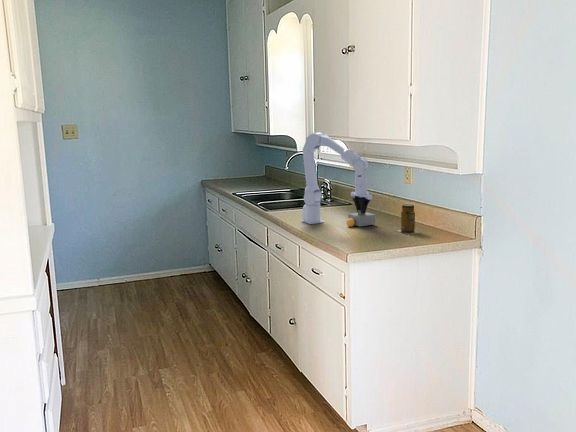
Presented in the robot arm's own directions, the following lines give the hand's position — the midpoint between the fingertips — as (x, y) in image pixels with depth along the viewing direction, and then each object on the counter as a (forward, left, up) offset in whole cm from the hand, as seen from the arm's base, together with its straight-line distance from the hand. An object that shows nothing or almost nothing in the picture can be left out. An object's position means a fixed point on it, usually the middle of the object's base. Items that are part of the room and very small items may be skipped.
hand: (361, 212), depth 270 cm
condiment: (+25, +7, -6) cm, 27 cm away
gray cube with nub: (0, 0, -5) cm, 5 cm away
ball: (0, -6, -4) cm, 7 cm away
